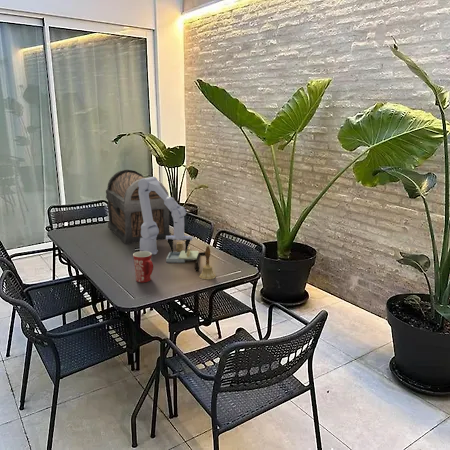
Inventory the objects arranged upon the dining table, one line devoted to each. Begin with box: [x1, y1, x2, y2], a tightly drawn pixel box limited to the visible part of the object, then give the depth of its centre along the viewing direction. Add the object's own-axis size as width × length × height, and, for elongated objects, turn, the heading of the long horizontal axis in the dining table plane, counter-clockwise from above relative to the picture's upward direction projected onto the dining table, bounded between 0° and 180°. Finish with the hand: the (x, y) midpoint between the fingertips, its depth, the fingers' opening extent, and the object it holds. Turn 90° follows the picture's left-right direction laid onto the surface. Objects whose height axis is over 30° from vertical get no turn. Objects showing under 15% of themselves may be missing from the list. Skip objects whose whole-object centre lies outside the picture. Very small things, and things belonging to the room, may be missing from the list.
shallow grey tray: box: [165, 251, 186, 264], centre depth 234 cm, size 10×12×2 cm
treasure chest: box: [105, 169, 172, 245], centre depth 278 cm, size 45×32×40 cm
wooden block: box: [175, 241, 184, 252], centre depth 243 cm, size 4×4×6 cm
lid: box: [178, 246, 200, 261], centre depth 233 cm, size 10×12×4 cm
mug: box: [132, 250, 154, 283], centre depth 202 cm, size 13×9×14 cm
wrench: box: [194, 251, 205, 273], centre depth 228 cm, size 5×5×30 cm
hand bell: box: [198, 245, 217, 281], centre depth 208 cm, size 8×8×16 cm
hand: (179, 252), depth 233 cm, fingers open, 7 cm apart
